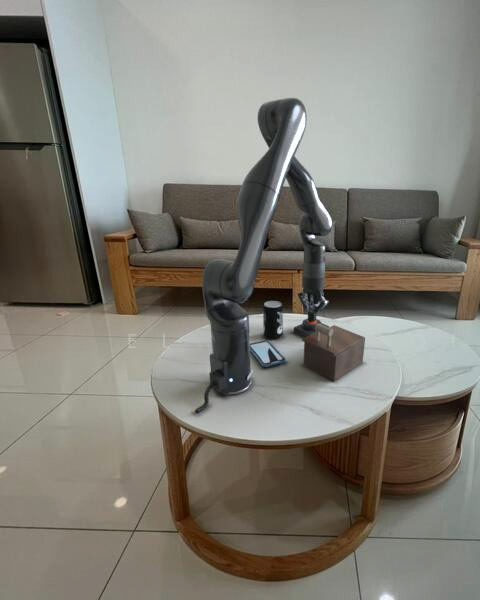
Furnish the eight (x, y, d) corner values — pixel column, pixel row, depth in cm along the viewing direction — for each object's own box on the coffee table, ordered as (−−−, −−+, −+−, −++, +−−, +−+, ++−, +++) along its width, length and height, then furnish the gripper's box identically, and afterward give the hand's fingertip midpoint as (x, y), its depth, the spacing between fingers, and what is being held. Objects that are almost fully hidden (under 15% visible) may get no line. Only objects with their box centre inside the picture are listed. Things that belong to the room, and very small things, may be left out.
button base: (310, 340, 109) (310, 329, 108) (293, 332, 114) (293, 322, 113) (328, 331, 116) (329, 321, 115) (312, 324, 121) (312, 314, 120)
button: (311, 329, 112) (312, 324, 111) (304, 325, 114) (304, 321, 114) (318, 326, 114) (318, 321, 114) (311, 323, 117) (311, 318, 116)
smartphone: (267, 339, 107) (286, 360, 95) (267, 342, 107) (286, 362, 95) (246, 344, 104) (263, 365, 91) (246, 346, 104) (263, 368, 92)
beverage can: (273, 342, 107) (273, 309, 103) (259, 336, 111) (258, 304, 107) (286, 335, 112) (286, 303, 108) (272, 330, 116) (272, 299, 112)
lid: (334, 356, 84) (335, 336, 82) (302, 341, 91) (302, 322, 89) (365, 339, 94) (367, 321, 92) (334, 327, 101) (335, 310, 99)
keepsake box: (334, 381, 87) (336, 356, 84) (303, 365, 94) (304, 341, 92) (362, 363, 96) (365, 340, 94) (332, 349, 104) (334, 327, 101)
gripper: (291, 272, 109) (291, 318, 115) (321, 280, 101) (318, 330, 107) (306, 268, 114) (305, 313, 121) (336, 276, 106) (333, 324, 112)
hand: (311, 321), depth 114 cm, fingers closed
